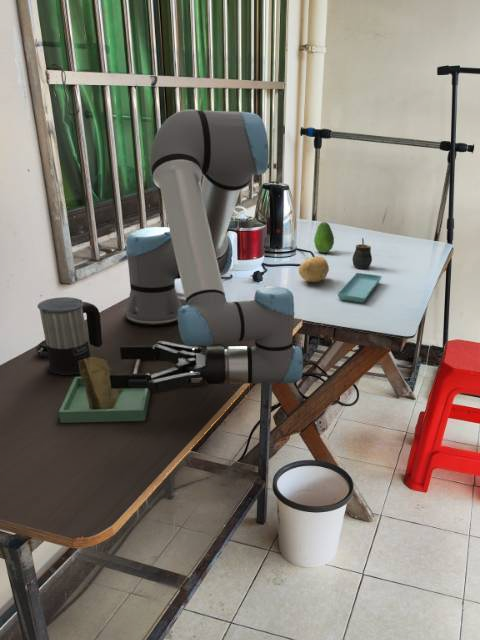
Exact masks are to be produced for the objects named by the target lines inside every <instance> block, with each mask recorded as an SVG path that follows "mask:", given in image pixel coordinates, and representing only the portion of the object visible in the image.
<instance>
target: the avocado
mask: <svg viewBox="0 0 480 640" xmlns="http://www.w3.org/2000/svg"><path fill="white" fill-rule="evenodd" d="M334 245H335V237H334V233H333V230H332V228H331V225H330V224H329V223H328V222H326V221H325V222H324V221H322V222H320V223H319V224H318V226H317V228H316V231H315V234H314V246H315V249H316V251H318V252H319V253H320V254H326V253H329V252H330V251H331V250H332V249H333V246H334Z"/></svg>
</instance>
